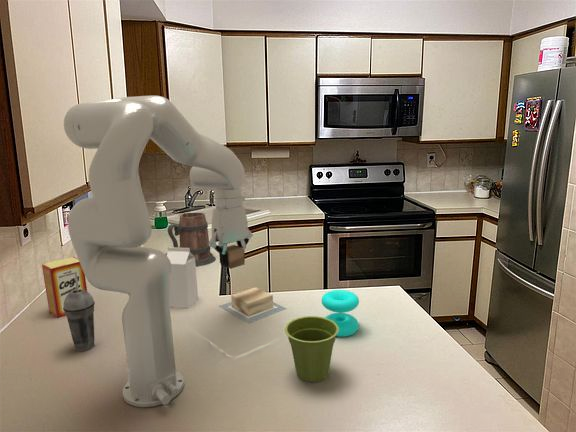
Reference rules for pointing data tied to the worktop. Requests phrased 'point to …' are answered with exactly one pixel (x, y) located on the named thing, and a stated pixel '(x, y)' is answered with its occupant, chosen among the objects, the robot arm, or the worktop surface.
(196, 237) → the tankard
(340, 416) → the worktop surface
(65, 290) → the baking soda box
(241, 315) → the board
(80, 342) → the beverage cup
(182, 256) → the milk carton
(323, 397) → the worktop surface
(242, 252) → the walnut block
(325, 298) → the donuts
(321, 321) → the plant pot
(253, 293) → the maple slab
